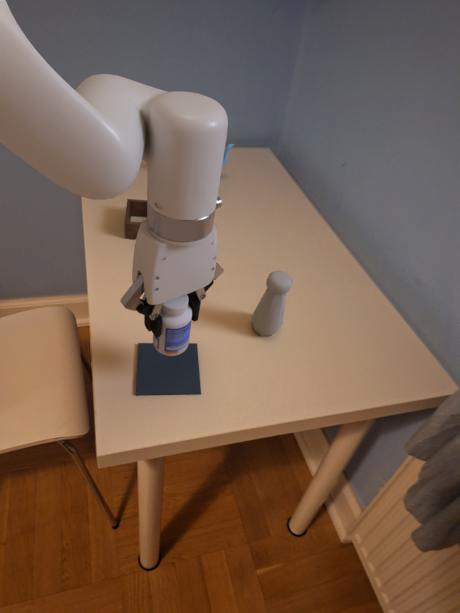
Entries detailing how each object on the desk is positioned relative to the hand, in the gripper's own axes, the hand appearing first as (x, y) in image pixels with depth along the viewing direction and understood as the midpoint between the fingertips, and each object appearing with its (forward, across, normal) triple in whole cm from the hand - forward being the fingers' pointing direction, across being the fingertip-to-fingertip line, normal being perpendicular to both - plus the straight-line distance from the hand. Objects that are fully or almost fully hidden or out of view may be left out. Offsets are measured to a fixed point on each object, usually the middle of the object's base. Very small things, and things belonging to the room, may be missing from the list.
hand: (172, 321), depth 58 cm
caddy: (+12, -16, -36) cm, 41 cm away
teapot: (+12, -40, -51) cm, 66 cm away
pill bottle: (+5, 0, 0) cm, 5 cm away
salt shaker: (+12, -20, +1) cm, 23 cm away
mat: (+12, 0, 0) cm, 12 cm away
